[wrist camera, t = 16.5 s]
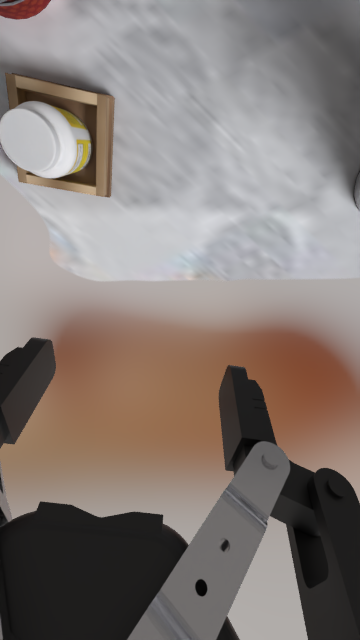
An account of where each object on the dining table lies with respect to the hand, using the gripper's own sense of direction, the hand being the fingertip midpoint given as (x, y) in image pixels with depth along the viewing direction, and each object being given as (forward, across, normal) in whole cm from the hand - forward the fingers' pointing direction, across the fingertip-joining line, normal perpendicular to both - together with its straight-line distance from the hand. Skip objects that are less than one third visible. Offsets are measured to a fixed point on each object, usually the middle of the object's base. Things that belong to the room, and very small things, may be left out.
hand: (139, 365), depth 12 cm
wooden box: (+25, +12, -6) cm, 29 cm away
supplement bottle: (+24, +12, -6) cm, 28 cm away
